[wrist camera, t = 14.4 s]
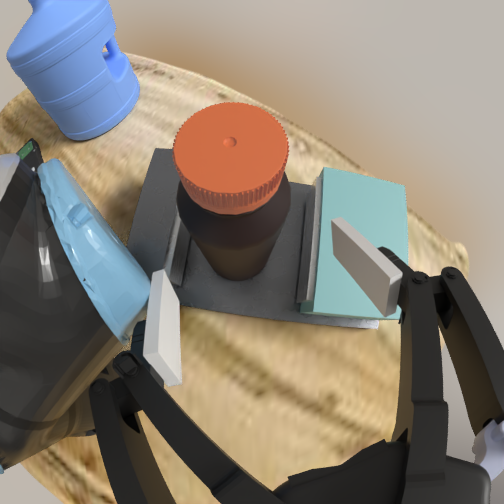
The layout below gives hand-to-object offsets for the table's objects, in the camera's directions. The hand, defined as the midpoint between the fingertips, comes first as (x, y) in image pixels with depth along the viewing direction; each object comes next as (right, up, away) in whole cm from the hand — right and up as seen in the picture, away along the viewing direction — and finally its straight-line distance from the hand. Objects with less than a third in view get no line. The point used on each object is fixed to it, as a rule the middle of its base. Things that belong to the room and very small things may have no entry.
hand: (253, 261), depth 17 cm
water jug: (-26, +26, +20) cm, 42 cm away
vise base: (+2, +1, +15) cm, 15 cm away
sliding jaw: (+10, 0, +13) cm, 17 cm away
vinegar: (-2, +1, +13) cm, 13 cm away
